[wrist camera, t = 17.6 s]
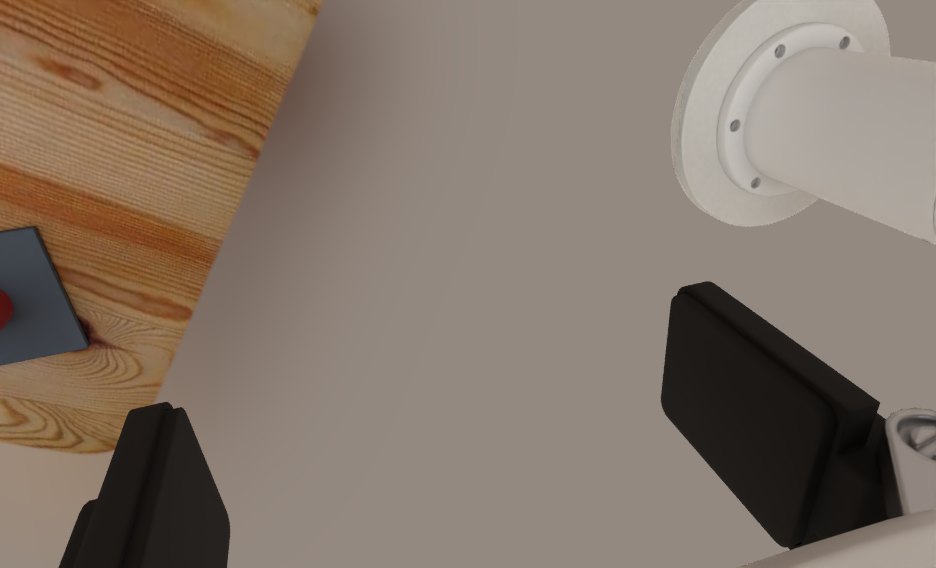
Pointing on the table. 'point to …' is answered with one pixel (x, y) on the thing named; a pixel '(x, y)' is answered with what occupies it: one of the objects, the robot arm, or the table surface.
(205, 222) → the table surface
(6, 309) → the marker pen
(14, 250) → the desk pad
